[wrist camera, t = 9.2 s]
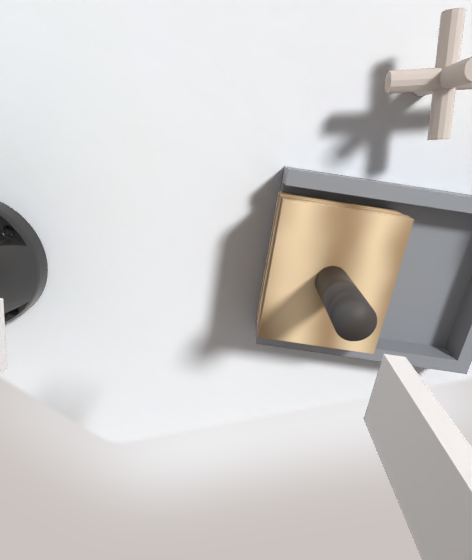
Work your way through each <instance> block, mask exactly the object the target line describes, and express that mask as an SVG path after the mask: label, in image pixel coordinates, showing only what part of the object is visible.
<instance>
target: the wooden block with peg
mask: <svg viewBox="0 0 472 560" xmlns="http://www.w3.org/2000/svg"><path fill="white" fill-rule="evenodd" d="M413 222H414V219H412V218H410V216H407V215H404V214H401V213H399V211H397V210H393V209H389V208H383V207H376V206H369V205H363V204H356V203H350V202H343V201H337V200H330V199H323V198H317V197H310V196H304V195H297V194H291V193H284V192H278V198H277V203H276V209H275V215H274V220H273V226H272V231H271V237H270V243H269V248H268V254H267V259H266V265H265V271H264V276H263V282H262V287H261V293H260V299H259V304H258V310H257V326H258V327H257V333H258V337H260V338H267V339H274V340H281V341H287V342H294V343H301V344H308V345H315V346H322V347H329V348H336V349H343V350H350V351H356V352H363V353H370V354H374V352H375V349H376V345H377V342H378V339H379V335H380V332H381V329H382V325H383V322H384V319H385V315H386V312H387V309H388V305H389V302H390V299H391V295H392V292H393V289H394V285H395V282H396V279H397V275H398V272H399V269H400V265H401V262H402V259H403V255H404V252H405V249H406V245H407V242H408V239H409V235H410V232H411V229H412V225H413Z"/></svg>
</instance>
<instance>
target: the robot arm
mask: <svg viewBox="0 0 472 560" xmlns="http://www.w3.org/2000/svg"><path fill="white" fill-rule="evenodd" d="M47 271H48V268H47V259H46V255H45V251H44V248H43V246H42V243H41V241H40V239H39V237H38V236H37V234H36V232H35V231H34V230H33V228H32V227H31V226H30V224H29V223H28V222H27V221H26V220H25V219H24V218H23V217H22V216H21V215H20V214H19V213H17V212H16V211H15V210H13V209H12V208H10V207H9V206H7V205H5V204H4V203H2V202H0V375H1V374H2V373H3V372H4V371H5V370H6V369H7V354H6V337H5V322H8V321H10V320H12V319H14V318H16V317H18V316H19V315H21V314H22V313H23V312H25V311H26V310H27V309H29V308H30V307H31V306H32V305H34V304H35V302H36V301H37V300H38V299H39V297H40V296H41V294H42V292H43V290H44V288H45V284H46V280H47ZM364 420H365V423H366V426H367V428H368V431H369V433H370V435H371V438H372V440H373V443H374V445H375V447H376V450H377V452H378V455H379V457H380V459H381V462H382V464H383V467H384V469H385V471H386V474H387V476H388V479H389V481H390V484H391V486H392V488H393V491H394V493H395V496H396V498H397V500H398V503H399V505H400V508H401V510H402V512H403V515H404V517H405V520H406V522H407V525H408V527H409V529H410V532H411V534H412V537H413V539H414V541H415V544H416V546H417V549H418V551H419V553H420V556H421V558H422V560H472V447H471V446H470V444H469V443H468V442H467V440H466V439H465V438H464V436H463V435H462V433H461V432H460V431H459V429H458V428H457V427H456V425H455V424H454V423H453V421H452V420H451V419H450V417H449V416H448V414H447V413H446V412H445V410H444V409H443V407H442V406H441V405H440V403H439V402H438V401H437V399H436V398H435V397H434V395H433V394H432V393H431V391H430V390H429V388H428V387H427V386H426V384H425V383H424V381H423V380H422V379H421V377H420V376H419V375H418V373H417V372H416V370H415V369H414V368H413V366H412V365H411V364H410V362H409V361H408V360H407V358H406V357H403V356H396V355H389V354H384V355H383V358H382V361H381V364H380V368H379V371H378V374H377V377H376V380H375V384H374V387H373V390H372V393H371V397H370V400H369V403H368V407H367V410H366V413H365V416H364Z"/></svg>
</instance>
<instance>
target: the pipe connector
mask: <svg viewBox="0 0 472 560" xmlns="http://www.w3.org/2000/svg"><path fill="white" fill-rule="evenodd" d="M465 12H466V9H465V8H454V9H449V10H446V11H443V12H442V13H441V19H440V28H439V37H438V46H437V56H436V65H435V68H425V69H407V70H390V71H388V72H387V74H386V77H385V82H384V90H385V93H387V94H389V93H408V92H414V94H415V95H417V96H424V95H428V94H432V102H431V111H430V120H429V130H428V139H427V140H440V139H450V131H451V123H452V115H453V107H454V99H455V92H456V90H464V89H472V57H470V58H467V59H464V60H462V61H459V60H460V52H461V44H462V36H463V28H464V20H465Z"/></svg>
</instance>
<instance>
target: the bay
mask: <svg viewBox="0 0 472 560" xmlns="http://www.w3.org/2000/svg"><path fill="white" fill-rule="evenodd" d="M280 192H284V193H291V194H297V195H304V196H310V197H317V198H323V199H330V200H337V201H343V202H350V203H356V204H363V205H369V206H376V207H383V208H389V209H393V210H397V211H399V213H401V214H404V215H407V216H410V218H412V219H414V222H413V225H412V229H411V232H410V235H409V239H408V242H407V245H406V249H405V252H404V255H403V259H402V262H401V265H400V269H399V272H398V275H397V279H396V282H395V285H394V289H393V292H392V295H391V299H390V302H389V305H388V309H387V312H386V315H385V319H384V322H383V325H382V329H381V332H380V335H379V339H378V342H377V345H376V349H375V352H374V354H370V353H363V352H356V351H350V350H343V349H336V348H329V347H322V346H315V345H308V344H301V343H294V342H287V341H281V340H274V339H267V338H260V337H258V333H257V327H258V326H257V322H256V343H257V344H263V345H270V346H277V347H284V348H291V349H298V350H304V351H311V352H318V353H325V354H332V355H339V356H346V357H353V358H360V359H367V360H374V361H380V362H381V361H382V358H383V355H384V354H389V355H396V356H403V357H406V358H407V360H408V361H409V362H410V364H411V365H412V366H415V367H422V368H429V369H436V370H443V371H450V372H456V373H463V374H467V371H468V369H469V366H470V364H471V361H472V195H467V194H461V193H454V192H448V191H441V190H435V189H428V188H422V187H415V186H408V185H402V184H395V183H389V182H382V181H376V180H369V179H363V178H356V177H350V176H343V175H337V174H330V173H324V172H317V171H311V170H304V169H298V168H291V167H285V166H284V172H283V178H282V183H281V189H280Z"/></svg>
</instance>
